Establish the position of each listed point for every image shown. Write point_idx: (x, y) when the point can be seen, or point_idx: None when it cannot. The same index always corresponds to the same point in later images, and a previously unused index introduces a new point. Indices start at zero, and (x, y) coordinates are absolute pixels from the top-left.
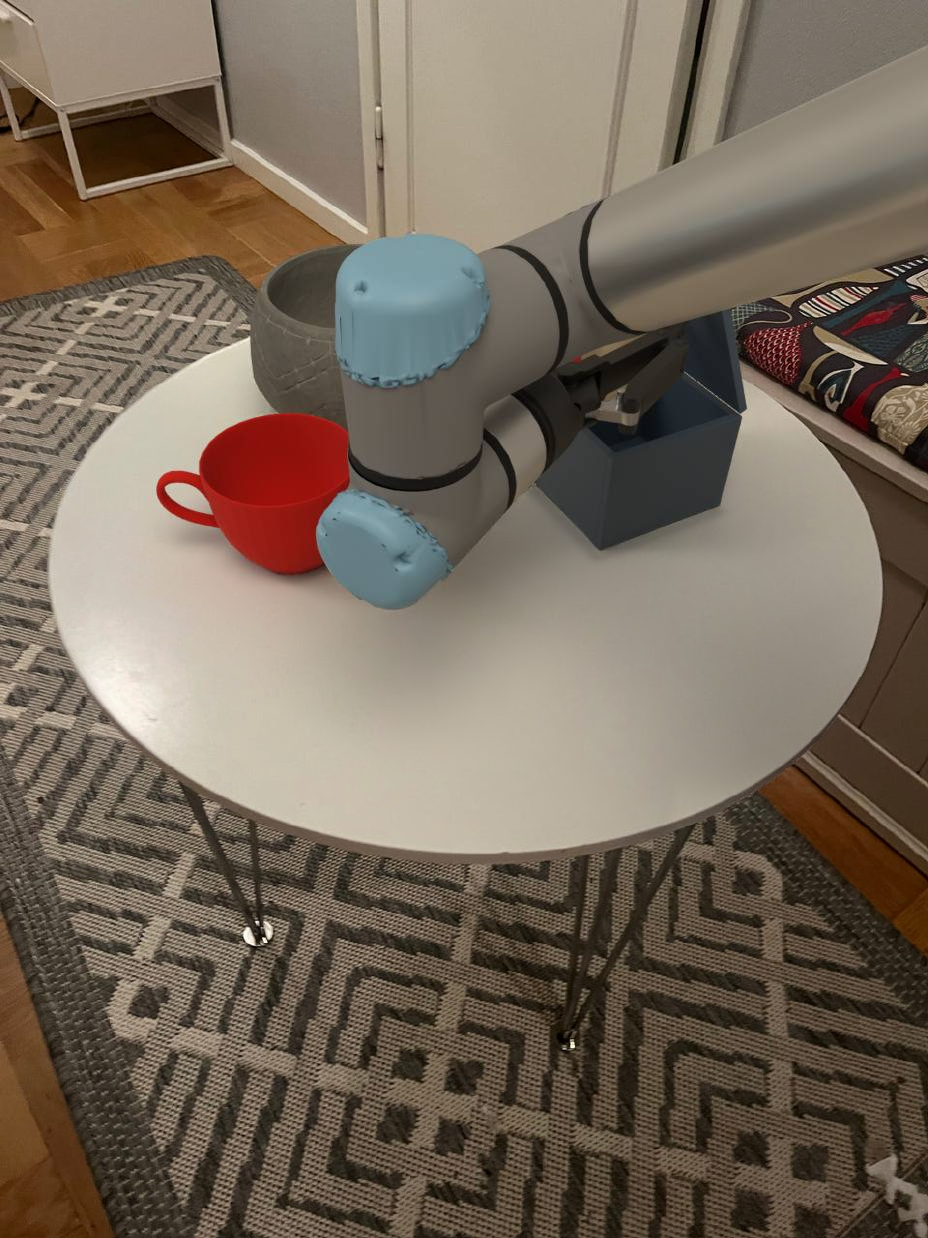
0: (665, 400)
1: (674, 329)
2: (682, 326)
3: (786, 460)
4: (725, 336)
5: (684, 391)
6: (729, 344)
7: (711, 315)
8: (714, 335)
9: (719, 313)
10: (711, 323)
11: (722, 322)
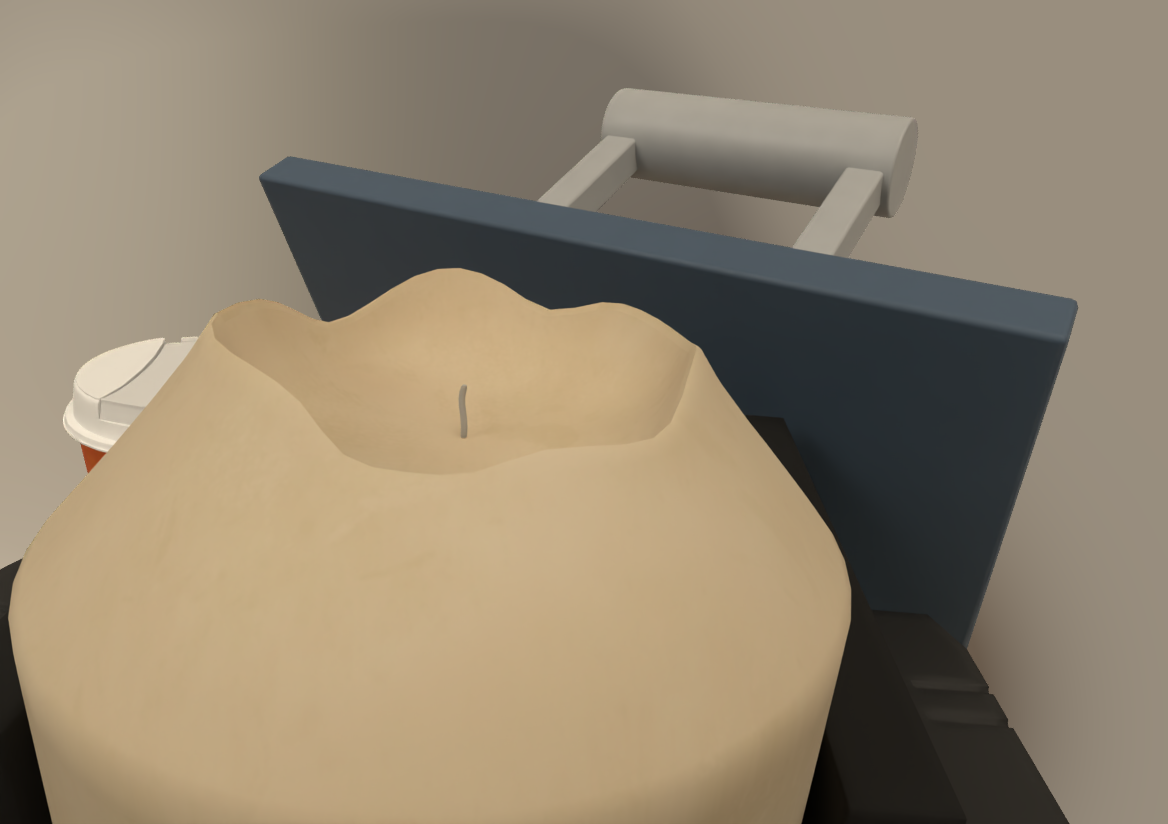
0: None
1: (998, 767)
2: (991, 701)
3: None
4: (968, 619)
5: None
6: (966, 646)
7: (881, 531)
8: None
9: (977, 518)
10: (860, 565)
11: (977, 559)
